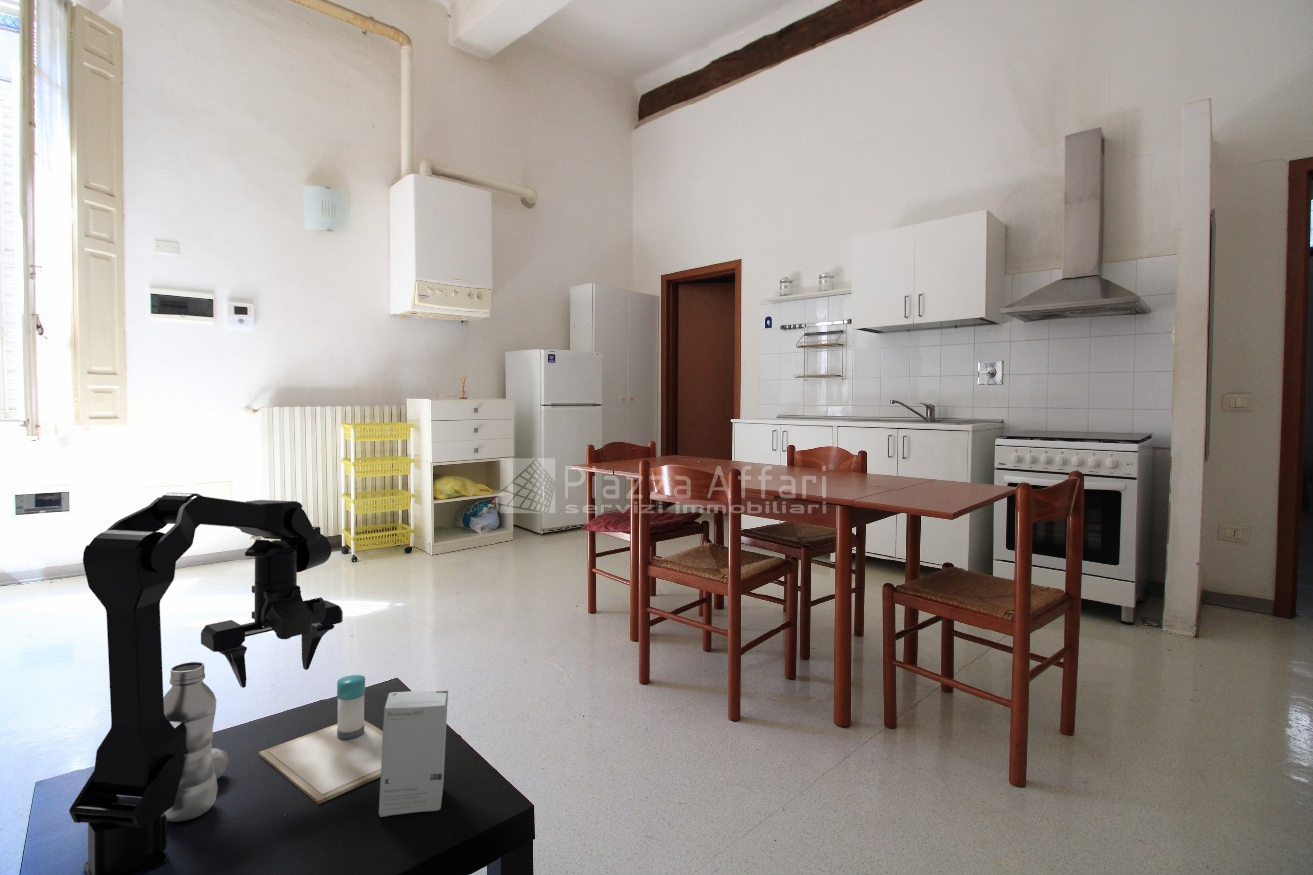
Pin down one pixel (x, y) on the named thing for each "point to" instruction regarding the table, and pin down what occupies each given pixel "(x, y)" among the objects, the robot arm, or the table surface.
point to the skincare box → (413, 752)
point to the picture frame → (328, 761)
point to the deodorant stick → (350, 707)
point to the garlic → (219, 761)
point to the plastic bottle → (193, 740)
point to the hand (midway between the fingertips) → (275, 677)
